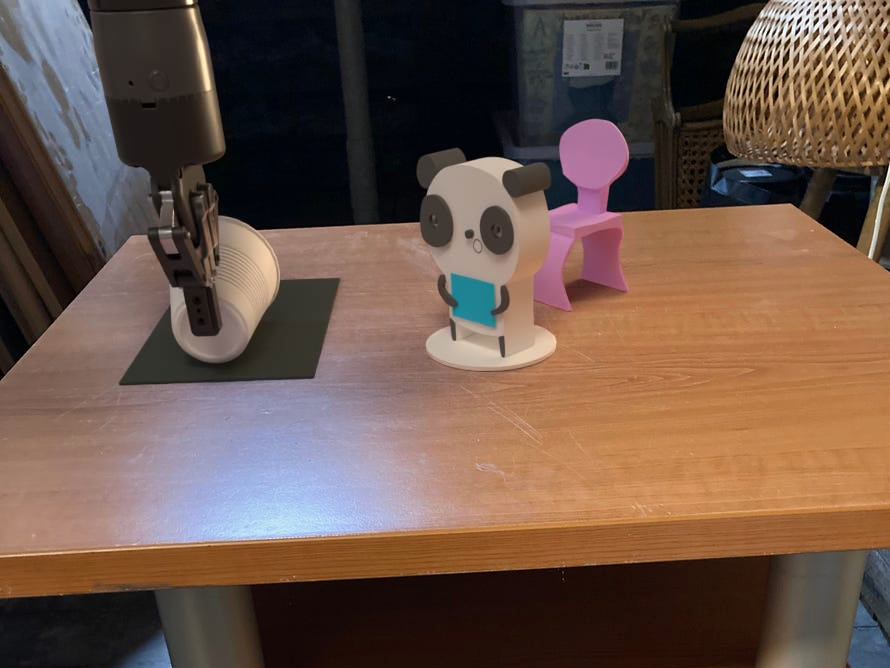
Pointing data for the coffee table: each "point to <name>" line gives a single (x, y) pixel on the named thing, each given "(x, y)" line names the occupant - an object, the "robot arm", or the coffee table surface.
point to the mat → (268, 351)
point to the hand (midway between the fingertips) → (207, 333)
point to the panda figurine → (486, 258)
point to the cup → (232, 293)
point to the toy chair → (586, 212)
